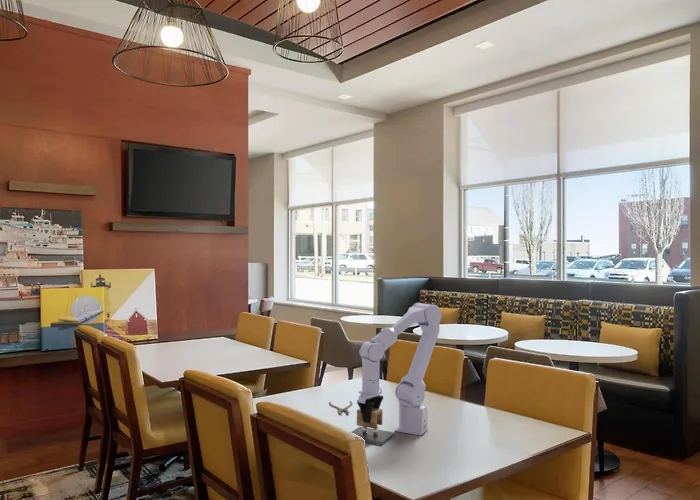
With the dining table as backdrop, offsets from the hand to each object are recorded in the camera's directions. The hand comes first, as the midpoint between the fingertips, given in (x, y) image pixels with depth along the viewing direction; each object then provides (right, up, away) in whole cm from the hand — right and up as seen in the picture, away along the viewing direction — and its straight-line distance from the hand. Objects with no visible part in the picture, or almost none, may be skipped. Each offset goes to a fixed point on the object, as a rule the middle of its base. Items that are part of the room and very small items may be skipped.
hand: (370, 419), depth 177 cm
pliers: (-9, -7, +34) cm, 36 cm away
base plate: (0, -6, 0) cm, 6 cm away
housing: (0, -2, 0) cm, 2 cm away
